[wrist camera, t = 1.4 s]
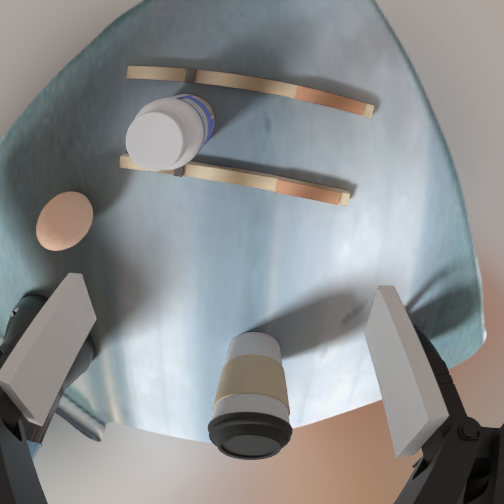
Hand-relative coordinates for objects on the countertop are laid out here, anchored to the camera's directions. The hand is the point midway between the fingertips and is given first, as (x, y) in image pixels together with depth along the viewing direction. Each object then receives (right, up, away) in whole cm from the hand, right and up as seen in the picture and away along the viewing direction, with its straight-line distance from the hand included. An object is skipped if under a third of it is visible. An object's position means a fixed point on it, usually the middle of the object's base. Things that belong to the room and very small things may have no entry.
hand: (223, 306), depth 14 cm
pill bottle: (-5, +14, +14) cm, 20 cm away
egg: (-17, +8, +18) cm, 26 cm away
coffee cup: (+2, -10, +28) cm, 30 cm away
